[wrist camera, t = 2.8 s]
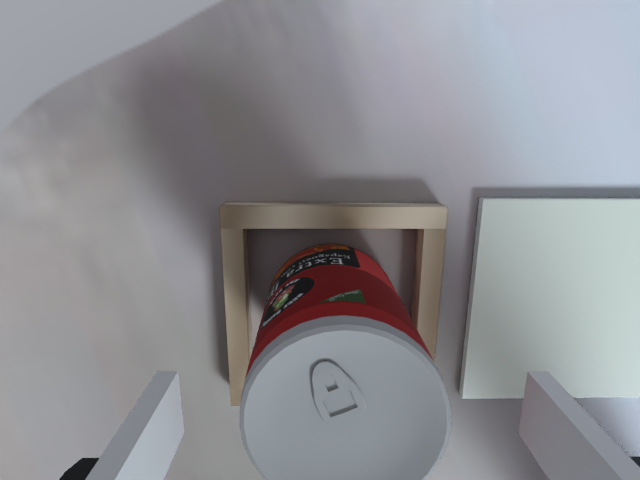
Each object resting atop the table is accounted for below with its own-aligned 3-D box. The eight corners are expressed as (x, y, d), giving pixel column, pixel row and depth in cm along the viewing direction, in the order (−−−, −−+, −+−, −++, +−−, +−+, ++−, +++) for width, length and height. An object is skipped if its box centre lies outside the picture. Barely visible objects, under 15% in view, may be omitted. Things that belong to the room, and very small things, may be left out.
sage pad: (459, 393, 27) (462, 398, 26) (479, 197, 23) (483, 199, 23) (652, 391, 27) (659, 397, 26) (699, 197, 24) (708, 199, 23)
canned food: (340, 214, 24) (364, 279, 13) (419, 312, 25) (497, 441, 15) (241, 291, 25) (188, 409, 14) (322, 380, 26) (330, 547, 16)
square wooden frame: (235, 390, 26) (231, 405, 25) (225, 202, 23) (219, 206, 22) (424, 389, 27) (431, 404, 25) (439, 202, 23) (447, 207, 22)
